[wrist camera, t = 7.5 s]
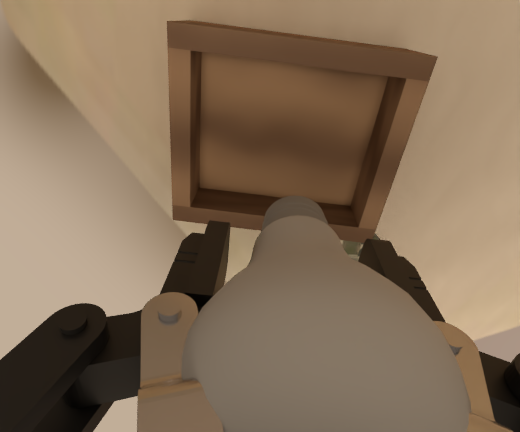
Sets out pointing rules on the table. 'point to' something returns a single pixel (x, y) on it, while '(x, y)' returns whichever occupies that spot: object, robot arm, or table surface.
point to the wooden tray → (287, 123)
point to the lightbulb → (320, 341)
